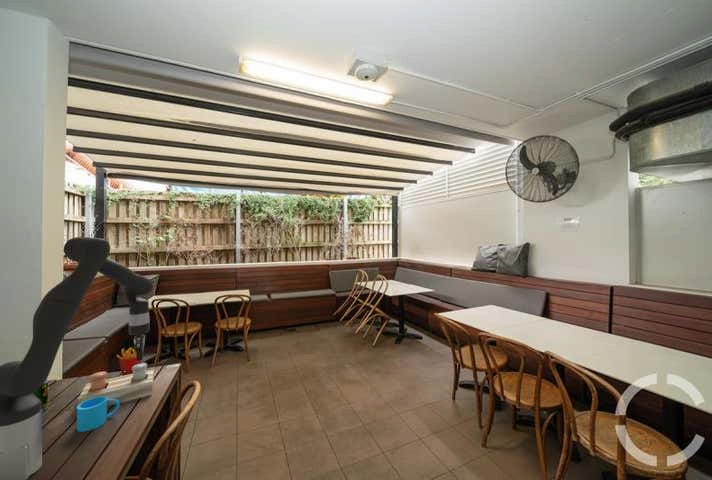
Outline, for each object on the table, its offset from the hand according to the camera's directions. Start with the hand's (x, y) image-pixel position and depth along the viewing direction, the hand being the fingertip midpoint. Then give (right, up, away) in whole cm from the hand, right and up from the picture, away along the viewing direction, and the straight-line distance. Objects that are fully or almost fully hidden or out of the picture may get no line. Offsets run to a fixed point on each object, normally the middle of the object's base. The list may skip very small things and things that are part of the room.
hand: (139, 359), depth 126 cm
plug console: (-6, -14, -4) cm, 16 cm away
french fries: (-15, -15, +13) cm, 25 cm away
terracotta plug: (-12, -10, -8) cm, 17 cm away
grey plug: (0, -10, 0) cm, 10 cm away
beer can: (-31, -15, -14) cm, 37 cm away
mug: (+1, -15, -21) cm, 26 cm away
